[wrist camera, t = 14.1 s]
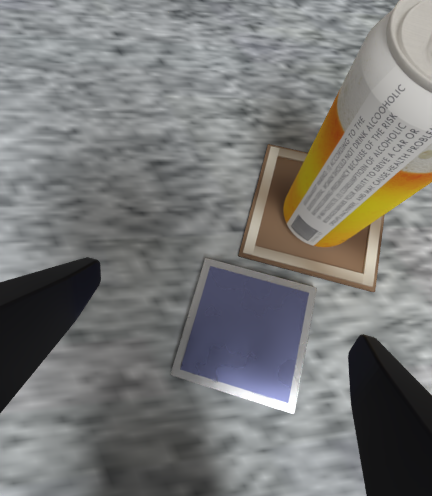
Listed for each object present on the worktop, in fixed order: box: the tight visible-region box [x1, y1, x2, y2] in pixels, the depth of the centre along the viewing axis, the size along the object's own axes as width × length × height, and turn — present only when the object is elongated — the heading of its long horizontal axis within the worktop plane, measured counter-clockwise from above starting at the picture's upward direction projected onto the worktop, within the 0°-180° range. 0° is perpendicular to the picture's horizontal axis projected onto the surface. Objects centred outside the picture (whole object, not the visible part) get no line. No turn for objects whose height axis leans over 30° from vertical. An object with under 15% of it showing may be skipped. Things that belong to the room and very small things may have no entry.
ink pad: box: [170, 258, 317, 414], centre depth 21 cm, size 9×9×1 cm
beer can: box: [283, 0, 432, 247], centre depth 16 cm, size 6×6×15 cm
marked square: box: [238, 144, 385, 292], centre depth 23 cm, size 11×11×1 cm
